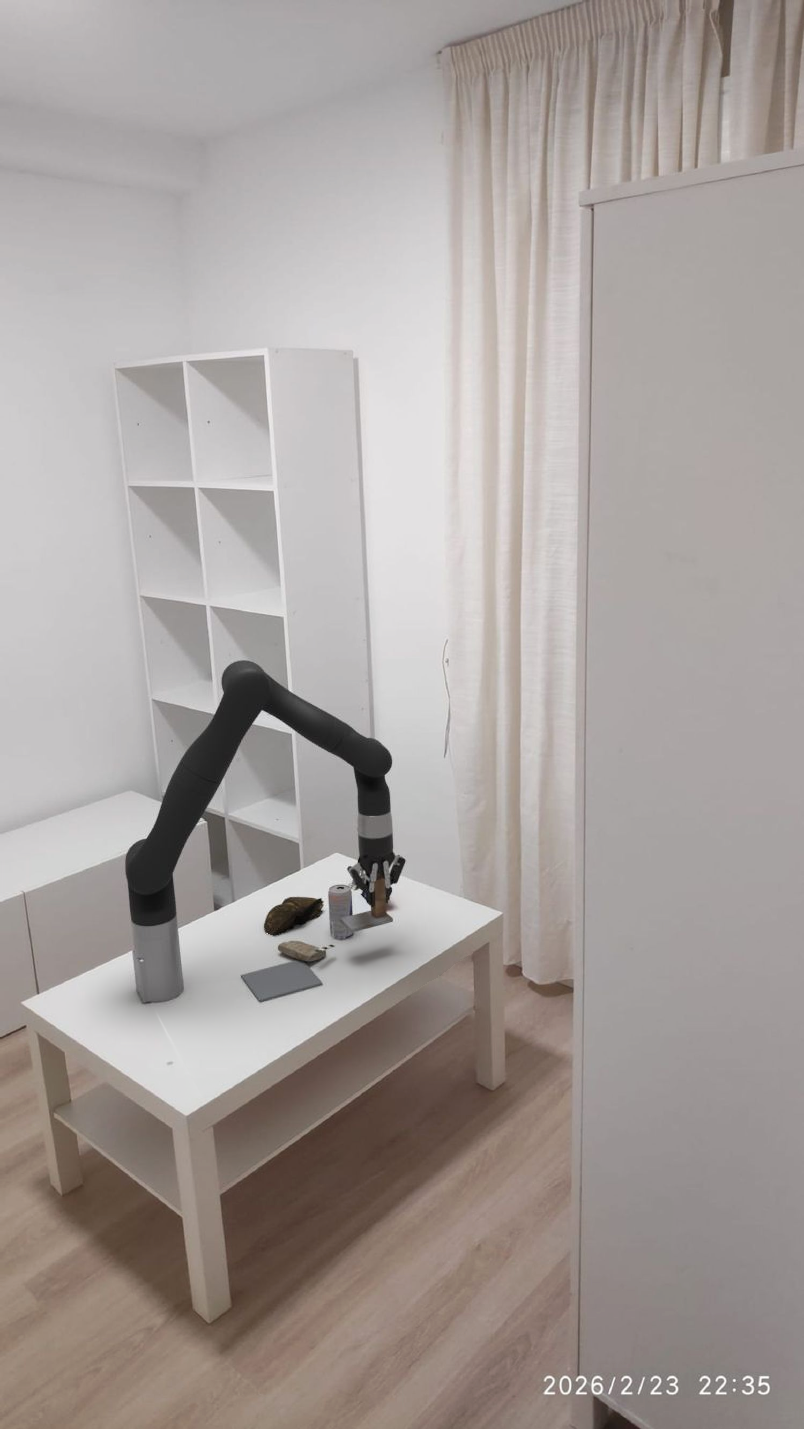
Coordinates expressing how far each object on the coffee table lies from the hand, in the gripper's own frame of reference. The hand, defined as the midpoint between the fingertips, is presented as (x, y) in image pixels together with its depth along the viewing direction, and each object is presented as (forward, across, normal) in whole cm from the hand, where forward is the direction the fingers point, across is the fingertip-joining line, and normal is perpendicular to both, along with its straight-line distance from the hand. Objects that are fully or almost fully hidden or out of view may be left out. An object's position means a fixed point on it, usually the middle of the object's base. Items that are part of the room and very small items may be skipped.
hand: (378, 903), depth 228 cm
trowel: (+4, 0, 0) cm, 4 cm away
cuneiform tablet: (+10, -12, +1) cm, 16 cm away
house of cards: (+13, +10, +30) cm, 35 cm away
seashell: (+13, -12, +24) cm, 29 cm away
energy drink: (+12, -4, +12) cm, 18 cm away
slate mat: (+12, -24, 0) cm, 26 cm away
